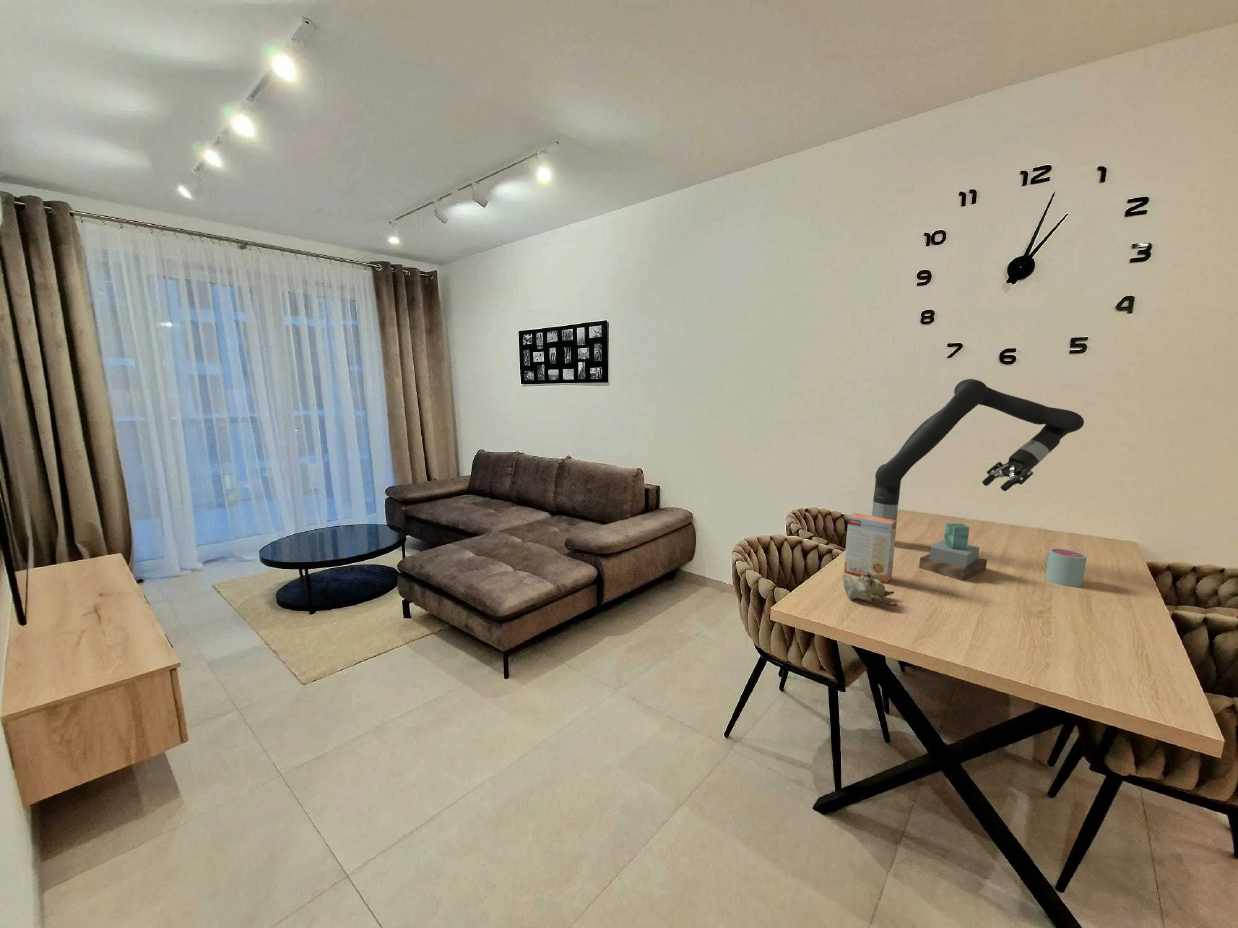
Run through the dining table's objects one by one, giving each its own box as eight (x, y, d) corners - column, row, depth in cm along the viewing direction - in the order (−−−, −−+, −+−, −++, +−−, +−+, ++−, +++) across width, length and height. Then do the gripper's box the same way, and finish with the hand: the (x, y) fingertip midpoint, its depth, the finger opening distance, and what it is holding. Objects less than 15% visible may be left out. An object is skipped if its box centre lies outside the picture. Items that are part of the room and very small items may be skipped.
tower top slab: (929, 558, 174) (930, 546, 173) (942, 550, 183) (944, 539, 182) (965, 567, 166) (967, 555, 165) (977, 558, 174) (979, 546, 174)
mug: (1089, 587, 159) (1094, 558, 158) (1056, 585, 161) (1061, 556, 160) (1060, 572, 173) (1065, 545, 171) (1030, 570, 175) (1034, 543, 173)
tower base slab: (918, 569, 176) (920, 557, 176) (942, 559, 186) (944, 548, 185) (962, 582, 165) (963, 569, 164) (985, 571, 174) (987, 559, 174)
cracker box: (892, 578, 166) (898, 519, 162) (886, 583, 162) (892, 523, 158) (849, 567, 176) (854, 511, 172) (843, 572, 172) (848, 515, 168)
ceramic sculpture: (843, 563, 156) (896, 574, 150) (840, 589, 157) (892, 599, 151) (844, 576, 146) (901, 587, 140) (840, 602, 148) (896, 614, 142)
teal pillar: (943, 544, 176) (945, 523, 175) (957, 544, 176) (960, 523, 175) (952, 548, 171) (954, 527, 170) (966, 549, 171) (969, 527, 170)
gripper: (1006, 445, 181) (972, 475, 182) (1040, 451, 167) (1002, 483, 168) (1018, 459, 182) (984, 489, 183) (1052, 466, 168) (1015, 498, 169)
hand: (993, 486), depth 176 cm, fingers open, 8 cm apart
